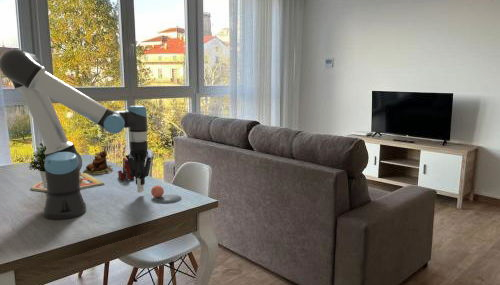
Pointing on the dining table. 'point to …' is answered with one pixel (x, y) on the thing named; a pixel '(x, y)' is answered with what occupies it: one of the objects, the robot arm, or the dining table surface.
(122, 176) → the toy fire truck
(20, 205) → the dining table surface
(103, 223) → the dining table surface
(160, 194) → the ball
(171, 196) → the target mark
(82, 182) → the knob puzzle
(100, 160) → the bear figurine
